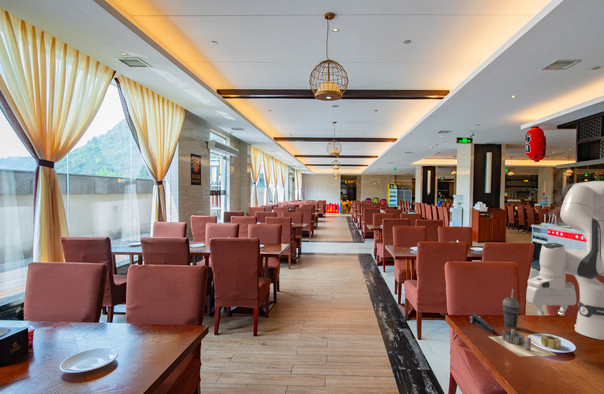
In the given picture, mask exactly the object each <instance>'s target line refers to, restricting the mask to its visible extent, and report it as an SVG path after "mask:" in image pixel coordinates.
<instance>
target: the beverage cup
mask: <svg viewBox="0 0 604 394" xmlns="http://www.w3.org/2000/svg"><path fill="white" fill-rule="evenodd" d="M513 296H514V288H512V289H511V296H508V297H505V298H504V299H503V300H502V304H501V305H502V310H503V323H504V328H505V329H508V330H511V329H514V330H515V331H516V330H517V328H518V320H519V312H520V309H521V306H520V302H519V301H518V300H517V298H514V297H513Z"/></svg>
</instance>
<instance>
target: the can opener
mask: <svg viewBox="0 0 604 394" xmlns="http://www.w3.org/2000/svg"><path fill="white" fill-rule="evenodd" d="M473 324H474V325H475V326H477V327H478V328H480V329H482V330H484V332H486V333H488V334H492V333H495V332H496V329H495V328H493V327H492V326H491V324H489V323H488V322H487V321H486V320H485V319H483V318H482V317H481V316H479V315H477V314H476V313H474V312H472V313H470V314H469V325H473Z"/></svg>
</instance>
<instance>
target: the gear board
mask: <svg viewBox="0 0 604 394" xmlns="http://www.w3.org/2000/svg"><path fill="white" fill-rule="evenodd" d="M510 330H511V335H515V332H516V329H515V330H514V329H510ZM488 338H490V339H491V340H492V341H494V342H496V343H498V344H499V345H500V346H502V347H504V349H505V348H506V349H507V350H509V351H510V352H512V353H513V354H515V355H516V356H518V357H545V356H546V357H547V356H548V357H549V356H557V354H555V353H554V352H552V351H550V350H549V349H547V350H544V349H542V348H539V347H538V346H536V345H534V344H533V343H531V341H532V338H531V337H529V336H528V337H527V336H526V337H525V338H524V345H515V344H511V343H507V342H506V341H504V340H502V335H500V336H499V335H498V336H497V335H496V336H488Z"/></svg>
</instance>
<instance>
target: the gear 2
mask: <svg viewBox="0 0 604 394" xmlns="http://www.w3.org/2000/svg"><path fill="white" fill-rule="evenodd" d="M540 337H541V338H540V344H541V343H542V344H541V345H542V347H546V348H549V349H551V350H552V349H555V350H559V349H561V348H562V340H561V339H560V337H557V336H554V335H552V334H550V335H548V334H543V335H542V334H541V336H540Z"/></svg>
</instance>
